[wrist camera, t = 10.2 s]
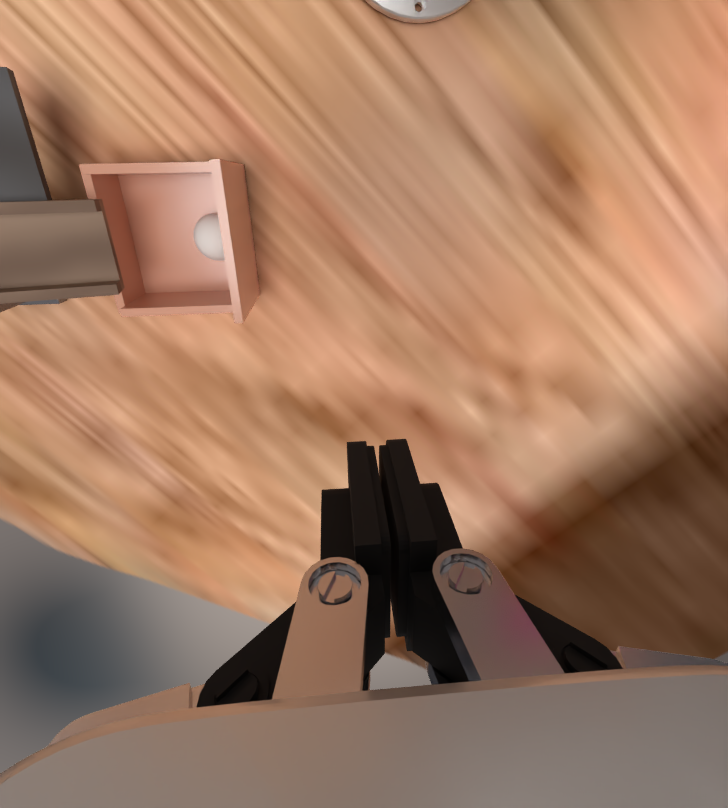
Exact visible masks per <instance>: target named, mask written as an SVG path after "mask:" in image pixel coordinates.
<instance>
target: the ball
mask: <svg viewBox="0 0 728 808" xmlns="http://www.w3.org/2000/svg"><path fill="white" fill-rule="evenodd" d="M194 241H195V244H196V246H197V248H198V250H199V251H200V252H201V253H202V254H203V255H204V256H206V257H207V258H209V259H212V260H216V261H223V260H225V258H224V251H223V245H222V238H221V232H220V225H219V218H218V214H216V213H213V214H208V215H205V216H203V217H202V218H201V219H199V221H198V222H197V223H196V225H195V228H194Z"/></svg>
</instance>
